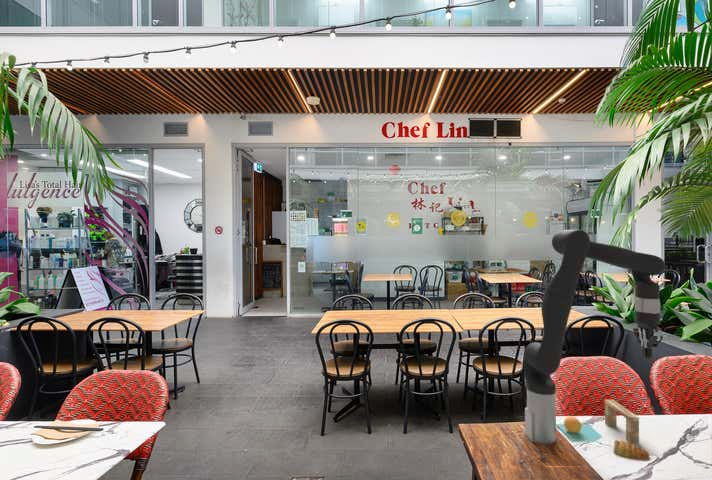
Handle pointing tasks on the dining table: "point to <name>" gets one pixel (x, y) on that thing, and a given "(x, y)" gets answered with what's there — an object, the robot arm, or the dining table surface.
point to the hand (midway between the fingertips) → (647, 357)
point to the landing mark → (581, 433)
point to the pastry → (629, 450)
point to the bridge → (631, 418)
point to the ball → (572, 425)
